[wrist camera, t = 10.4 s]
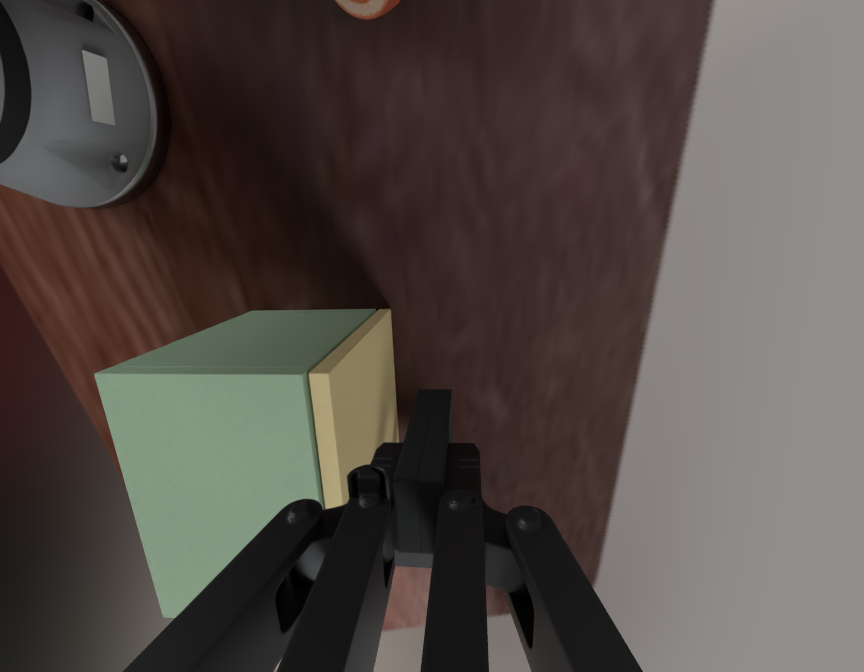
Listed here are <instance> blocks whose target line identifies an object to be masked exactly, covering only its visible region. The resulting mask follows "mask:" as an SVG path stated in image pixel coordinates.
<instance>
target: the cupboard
mask: <svg viewBox="0 0 864 672" xmlns="http://www.w3.org/2000/svg"><path fill="white" fill-rule="evenodd" d="M374 313H376V309H331V310H264V311H250V312H248V313H245V314H243V315H240V316H238V317H235V318H233V319H230V320H228V321H225V322H223V323H220V324H218V325H215V326H213V327H210V328H208V329H205V330H203V331H200V332H198V333H195V334H193V335H190V336H188V337H185V338H183V339H180V340H178V341H175V342H173V343H170V344H168V345H165V346H163V347H160V348H158V349H155V350H153V351H150V352H148V353H145V354H143V355H140V356H138V357H135V358H133V359H130V360H128V361H125V362H123V363H120V364H118V365H115V366H113V367H110V368H107V369H105V370H102V371H100V372H97V373H95V374H94V375H95V378H96V382H97V385H98V389H99V393H100V396H101V400H102V403H103V407H104V410H105V414H106V417H107V421H108V424H109V428H110V431H111V435H112V438H113V442H114V445H115V449H116V452H117V456H118V460H119V463H120V467H121V470H122V474H123V477H124V481H125V484H126V488H127V491H128V495H129V498H130V502H131V505H132V509H133V512H134V516H135V519H136V523H137V526H138V530H139V534H140V537H141V541H142V544H143V547H144V551H145V555H146V558H147V562H148V565H149V569H150V572H151V576H152V579H153V583H154V586H155V590H156V594H157V597H158V600H159V604H160V608H161V611H162V615H163V617H169V618H176V617H177V616H178V615H179V614H180V613H181V612H182V611H183V610H184V609H185V608H186V607H187V606H188V605H189V603H190V602H191V601H192V600H193V599H194V598H195V597H196V596H197V595H198V594H199V593H200V592H201V591H202V590H203V589H204V588H205V587H206V586H207V585H208V584H209V583H210V582H211V581H212V580H213V579H214V578H215V577H216V576H217V575H218V574H219V573H220V572H221V571H222V570H223V569H224V568H225V567H226V566H227V565H228V564H229V563H230V562H231V561H232V560H233V558H234V557H235V556H236V555H237V554H238V553H239V552H240V551H241V550H242V549H243V548H244V547H245V546H246V545H247V544H248V543H249V542H250V541H251V540H252V539H253V538H254V537H255V536H256V535H257V534H258V533H259V532H260V531H261V530H262V529H263V528H264V527H265V526H266V525H267V524H268V523H269V522H270V521H271V520H272V519H273V518H274V517H275V516H276V515H277V514H278V512H279V511H280V510H281V509H283V508H284V507H285V506H286V505H288V504H289V503H292V502H294V501H296V500H301V499H314V500H316V501H318V502H319V503H320V504H321V505H322V509H323V510H324V509H325V502H324V494H323V486H322V478H321V470H320V461H319V453H318V445H317V437H316V429H315V421H314V413H313V405H312V397H311V389H310V381H309V372H311V371H312V370H313V369H314V368H315V367H316V366H317V365H318V364H319V363H320V362H322V361H323V360H324V359H325V358H326V357H327V356H328V355H329V354H330V353H331V352H333V351H334V350H335V349H336V348H337V347H338V346H339V345H340V344H341V343H342V342H344V341H345V340H346V339H347V338H348V337H349V336H350V335H351V334H352V333H353V332H355V331H356V330H357V329H358V328H359V327H360V326H361V325H362V324H363V323H364V322H366V321H367V320H368V319H369V318H370V317H371V316H372V315H373V314H374Z"/></svg>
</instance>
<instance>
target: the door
mask: <svg viewBox="0 0 864 672" xmlns="http://www.w3.org/2000/svg"><path fill="white" fill-rule="evenodd" d="M309 381H310V389H311V397H312V405H313V413H314V421H315V429H316V437H317V445H318V453H319V461H320V470H321V478H322V486H323V494H324V502H325V509H329V508H334V507H338V506H341V505H344V504H346V503H347V502H348V500H349V493H348V484H347V475H348V474H349V473H350V471H352V470H353V469H355V468H356V467H359V466H362V465H367V464H370V463H371V461H372V460H373V456H374V453H375V451H376V449H377V448H378V447H379V446H380V445H382V444H383V443H384V442H395V443H399V435H398V419H397V402H396V386H395V370H394V354H393V338H392V322H391V309H379V310H378V311H377V312H376V313H374V314H373V315H372V316H371V317H370V318H369V319H368V320H367V321H366V322H364V323H363V324H362V325H361V326H360V327H359V328H358V329H357V330H356V331H355V332H353V333H352V334H351V335H350V336H349V337H348V338H347V339H346V340H345V341H344V342H342V343H341V344H340V345H339V346H338V347H337V348H336V349H335V350H334V351H333V352H331V353H330V354H329V355H328V356H327V357H326V358H325V359H324V360H323V361H322V362H320V363H319V364H318V365H317V366H316V367H315V368H314V369H313V370H312V371H311V372H309ZM394 554H395V566H404V567H421V568H432V563H433V554H420V553H400V552H398V549H397V543H396V548H395V552H394Z"/></svg>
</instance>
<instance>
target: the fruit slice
mask: <svg viewBox="0 0 864 672" xmlns="http://www.w3.org/2000/svg"><path fill="white" fill-rule="evenodd" d="M335 1H336V2H337V3H338V4H339V6H340V7H341V8H342V9H343V10H345V11H346V12H347V13H349V14H350V15H352V16H354V17H357V18H360V19H374V18H377V17H380V16H382V15H384V14H385V13H387V12H388V11H390V10H391V9H392V8H394V7H395V6H396V5H397V4H398V3H399V2H400V1H401V0H335Z"/></svg>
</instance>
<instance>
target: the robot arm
mask: <svg viewBox="0 0 864 672" xmlns="http://www.w3.org/2000/svg"><path fill="white" fill-rule="evenodd" d="M169 122H170V120H169V108H168V101H167V96H166V92H165V87H164V84H163V81H162V78H161V75H160V73H159V70H158V68H157V65H156V63H155V61H154V59H153V57H152V55H151V53H150V52H149V50H148V48H147V47H146V45H145V43H144V42H143V41H142V39H141V38H140V36H139V35H138V34H137V32H136V31H135V30H134V29H133V28H132V26H131V25H130V24H129V23H128V22H127V21H126V20H125V19H124V18H123V17H122V16H120V15H119V14H118V13H117V12H116V11H115V10H113V9H112V8H111V7H109V6H108V5H106V4H105V3H103V2H102V1H100V0H0V184H1V185H4V186H6V187H9V188H12V189H15V190H17V191H20V192H23V193H26V194H29V195H31V196H34V197H37V198H40V199H42V200H45V201H47V202H50V203H53V204H56V205H61V206H65V207H74V208H110V207H115V206H119V205H121V204H124V203H127V202H129V201H130V200H132V199H134V198H135V197H137V196H138V195H140V194H141V193H142V192H143V191H144V190H145V189H146V188H147V187H148V186H149V185H150V184H151V183H152V181H153V180H154V178H155V177H156V175H157V173H158V172H159V170H160V168H161V165H162V163H163V160H164V157H165V154H166V150H167V145H168V139H169ZM347 484H348V493H349V500H348V502H347V503H346V504H344V505H341V506H338V507H334V508H329V509H324V510H323V509H322V505H321V504H320V503H319V502H318V501H316V500H314V499H301V500H296V501H294V502H292V503H289V504H288V505H286V506H285V507H284V508H283V509H281V510H280V511H279V512H278V514H277V515H276V516H275V517H274V518H273V519H272V520H271V521H270V522H269V523H268V524H267V525H266V526H265V527H264V528H263V529H262V530H261V531H260V532H259V533H258V534H257V535H256V536H255V537H254V538H253V539H252V540H251V541H250V542H249V543H248V544H247V545H246V546H245V547H244V548H243V549H242V550H241V551H240V552H239V553H238V554H237V555H236V556H235V557H234V558H233V560H232V561H231V562H230V563H229V564H228V565H227V566H226V567H225V568H224V569H223V570H222V571H221V572H220V573H219V574H218V575H217V576H216V577H215V578H214V579H213V580H212V581H211V582H210V583H209V584H208V585H207V586H206V587H205V588H204V589H203V590H202V591H201V592H200V593H199V594H198V595H197V596H196V597H195V598H194V599H193V600H192V601H191V602H190V603H189V605H188V606H187V607H186V608H185V609H184V610H183V611H182V612H181V613H180V614H179V615H178V616H177V617H176V618H175V619H174V620H173V621H172V622H171V623H170V624H169V625H168V626H167V627H166V628H165V629H164V630H163V631H162V632H161V633H160V634H159V635H158V636H157V637H156V638H155V639H154V640H153V641H152V642H151V643H150V644H149V645H148V647H147V648H145V650H144V651H143V652H142V653H141V654H140V655H139V656H138V657H137V658H136V659H135V660H134V661H133V662H132V663H131V664H130V665H129V666H128V667H127V668H126V669H125V670H124V671H123V672H273V670H274V669H275V667H276V666H277V664H278V663H279V661H280V660H281V658H282V660H281V662H280V665H279V667H278V669H277V672H373V670H374V665H375V661H376V655H377V651H378V646H379V641H380V637H381V632H382V627H383V622H384V617H385V613H386V608H387V603H388V598H389V593H390V589H391V584H392V579H393V574H394V569H395V554H394V552H395V548H396V543H397V549H398V552H400V553H420V554H433V563H432V572H431V581H430V590H429V599H428V609H427V618H426V627H425V636H424V645H423V654H422V664H421V672H489V664H488V663H489V662H488V636H487V611H486V585H485V584H487V585H490V586H492V587H495V588H498V589H501V590H503V591H504V594H505V598H506V601H507V604H508V607H509V609H510V612H511V615H512V618H513V621H514V624H515V626H516V629H517V632H518V635H519V638H520V641H521V643H522V646H523V649H524V652H525V654H526V657H527V660H528V663H529V666H530V669H531V672H643V671H642V670H641V668H640V666H639V665H638V663H637V661H636V660H635V658H634V656H633V655H632V653H631V651H630V650H629V648H628V646H627V644H626V643H625V641H624V639H623V638H622V636H621V634H620V633H619V631H618V629H617V628H616V626H615V624H614V623H613V621H612V620H611V618H610V616H609V615H608V613H607V612H606V609H605V608H604V606H603V604H602V603H601V601H600V599H599V598H598V596H597V594H596V593H595V591H594V589H593V588H592V586H591V584H590V583H589V581H588V579H587V578H586V576H585V574H584V573H583V571H582V569H581V568H580V566H579V564H578V563H577V561H576V559H575V558H574V556H573V554H572V553H571V551H570V549H569V548H568V546H567V544H566V543H565V541H564V539H563V538H562V536H561V534H560V532H559V531H558V529H557V527H556V526H555V524H554V522H553V521H552V519H551V518H550V517H549V516H548V515H547V513H546V512H544V511H542V510H540V509H539V508H535V507H532V506H519V507H515V508H513V509H512V510H510V511H509V512H508V514H504V513H501V512H498V511H495V510H493V509H492V508H490V507H489V506H488V505H487V504H485V502H484V501H483V499H482V495H481V475H480V451H479V450H478V448H477V447H476V446H475V444H474V443H453V434H452V390H444V389H419V391H418V395H417V398H416V402H415V405H414V409H413V412H412V416H411V419H410V422H409V426H408V429H407V433H406V436H405V440H404V443H395V442H384V443H383V444H382V445H380V446H379V447H378V448H377V449H376V451H375V453H374V456H373V460H372V461H371V463H370V464H367V465H362V466H359V467H356V468H355V469H353V470H352V471H350V473H349V474H348V475H347Z"/></svg>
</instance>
